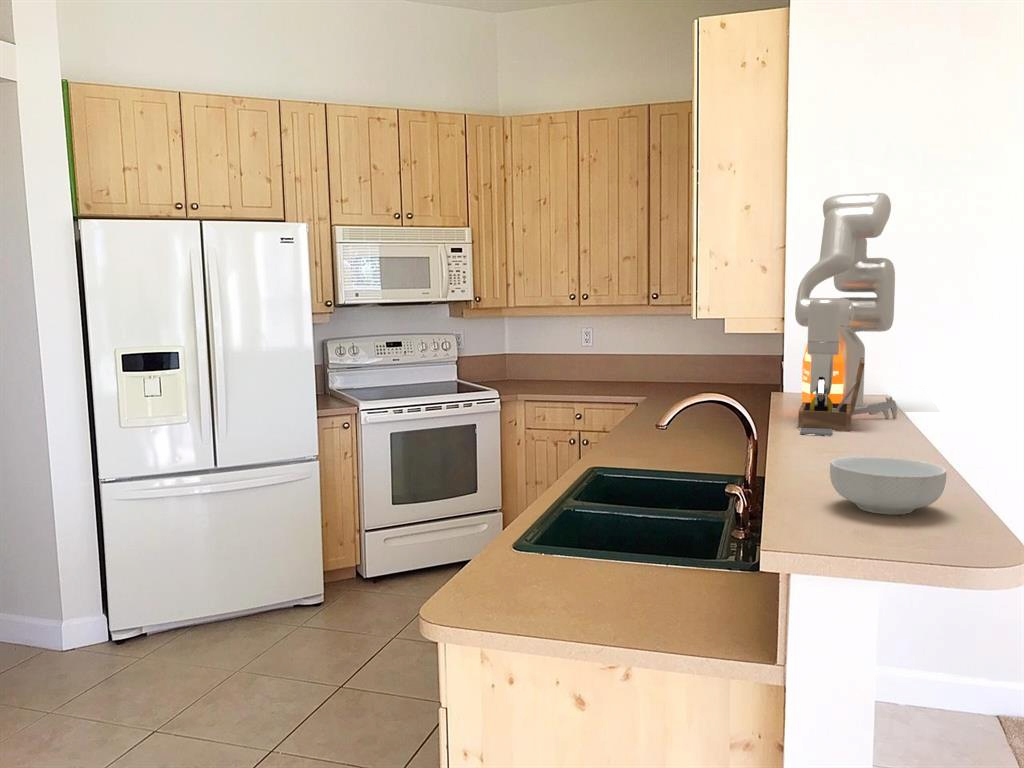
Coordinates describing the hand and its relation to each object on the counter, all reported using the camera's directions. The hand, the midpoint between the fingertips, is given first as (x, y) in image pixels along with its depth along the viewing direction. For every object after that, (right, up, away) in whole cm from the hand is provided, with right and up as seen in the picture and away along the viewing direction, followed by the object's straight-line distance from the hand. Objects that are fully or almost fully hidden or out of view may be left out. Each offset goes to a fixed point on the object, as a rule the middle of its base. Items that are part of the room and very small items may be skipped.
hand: (821, 419), depth 223 cm
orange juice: (+7, +1, +20) cm, 21 cm away
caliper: (+12, -1, +9) cm, 16 cm away
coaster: (-6, -3, -13) cm, 14 cm away
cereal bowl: (-20, -11, -85) cm, 88 cm away
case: (+2, -1, -1) cm, 3 cm away
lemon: (0, -2, 0) cm, 1 cm away
